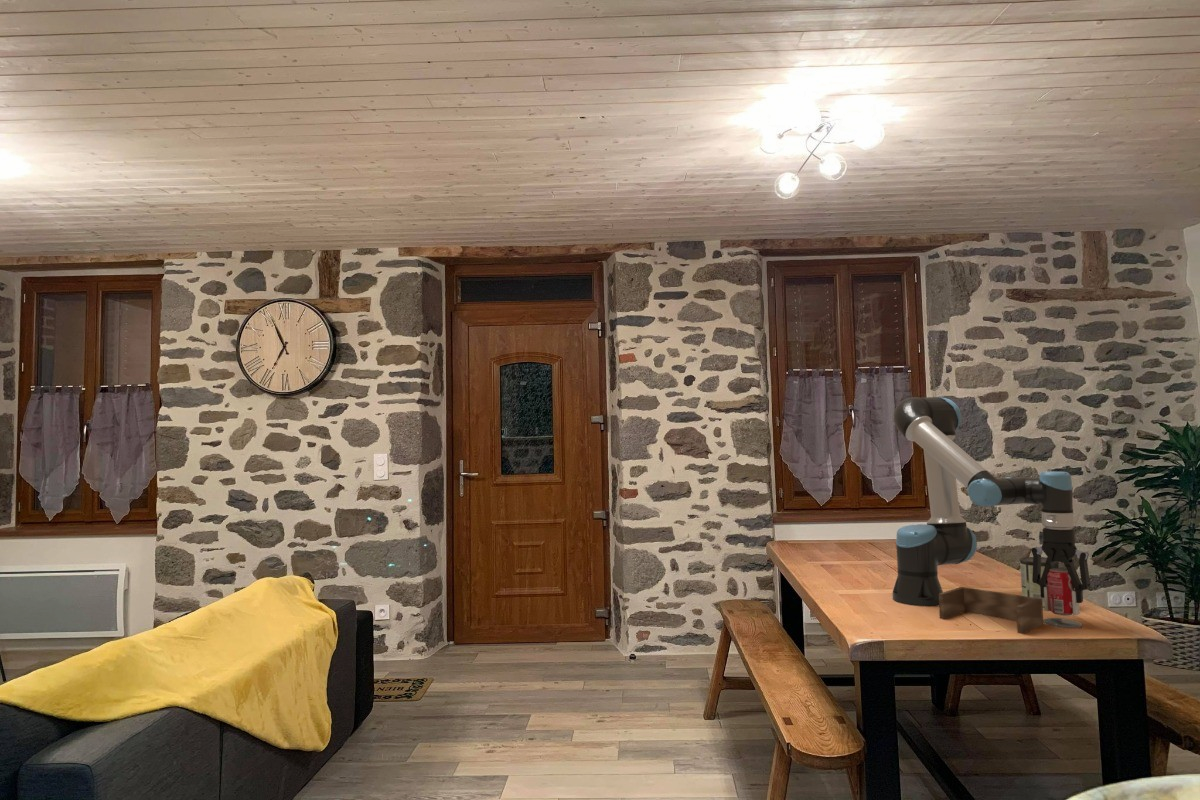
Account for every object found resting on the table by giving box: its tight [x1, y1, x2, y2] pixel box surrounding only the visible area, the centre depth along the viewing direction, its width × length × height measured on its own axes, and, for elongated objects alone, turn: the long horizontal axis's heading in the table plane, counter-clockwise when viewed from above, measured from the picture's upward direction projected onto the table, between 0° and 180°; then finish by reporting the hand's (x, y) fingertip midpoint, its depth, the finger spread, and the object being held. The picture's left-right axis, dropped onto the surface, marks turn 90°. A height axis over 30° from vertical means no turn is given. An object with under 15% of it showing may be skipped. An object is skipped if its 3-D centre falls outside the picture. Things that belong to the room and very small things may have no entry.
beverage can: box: [1047, 567, 1075, 617], centre depth 203 cm, size 6×6×12 cm
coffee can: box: [1019, 556, 1060, 611], centre depth 224 cm, size 10×10×14 cm
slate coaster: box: [1043, 617, 1083, 629], centre depth 203 cm, size 9×9×1 cm
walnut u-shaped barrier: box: [938, 586, 1044, 635], centre depth 207 cm, size 22×14×7 cm, turn 39°
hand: (1062, 612), depth 203 cm, fingers closed on beverage can, 6 cm apart
